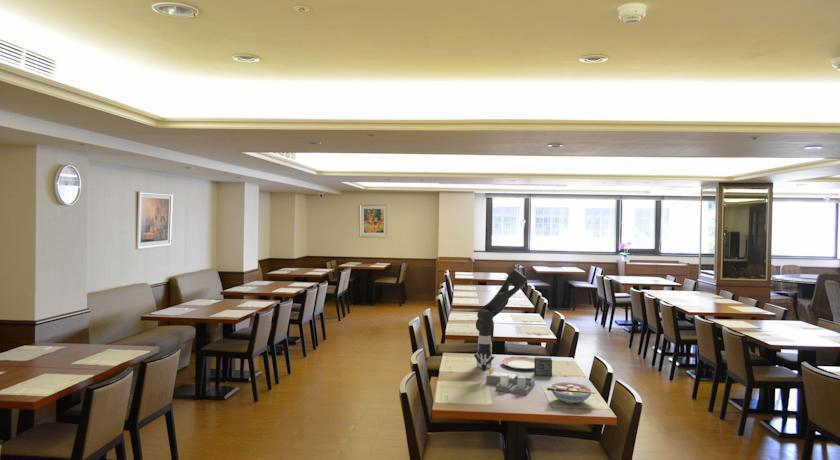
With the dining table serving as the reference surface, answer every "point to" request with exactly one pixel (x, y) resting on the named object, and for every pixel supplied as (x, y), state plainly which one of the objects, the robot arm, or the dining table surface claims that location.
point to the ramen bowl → (570, 391)
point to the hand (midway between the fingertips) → (484, 370)
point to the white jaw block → (504, 380)
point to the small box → (543, 366)
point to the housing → (513, 384)
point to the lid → (497, 374)
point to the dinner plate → (519, 362)
